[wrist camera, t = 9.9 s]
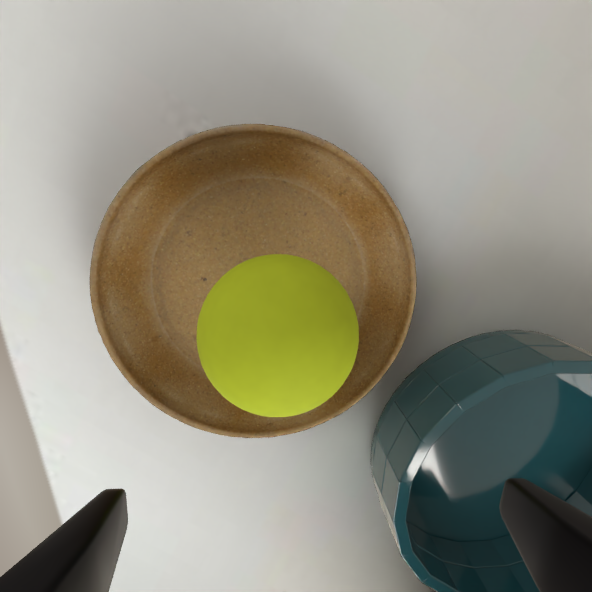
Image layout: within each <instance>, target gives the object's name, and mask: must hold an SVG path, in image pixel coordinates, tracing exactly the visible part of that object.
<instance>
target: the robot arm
mask: <svg viewBox="0 0 592 592" xmlns="http://www.w3.org/2000/svg"><path fill="white" fill-rule="evenodd" d="M499 509H500V514H501V516H502V519H503V521H504V523H505V525H506V527H507V529H508V531H509V533H510V535H511V537H512V539H513V541H514V543H515V545H516V547H517V549H518V551H519V553H520V555H521V557H522V559H523V561H524V563H525V565H526V567H527V569H528V570H529V572H530V574H531V576H532V578H533V580H534V582H535V584H536V586H537V588H538V589H539V591H540V592H592V517H591V516H589V515H588V514H586V513H584V512H582V511H581V510H579V509H577V508H575V507H574V506H572V505H570V504H568V503H567V502H565V501H563V500H561V499H560V498H558V497H556V496H554V495H553V494H551V493H549V492H547V491H546V490H544V489H542V488H540V487H539V486H537V485H535V484H533V483H532V482H530V481H528V480H526V479H523V478H511V479H507V480H506V482H505V484H504V488H503V492H502V496H501V500H500V505H499ZM127 524H128V514H127V501H126V493H125V490H123V489H106V490H104V491H102V492H101V493H100V494H98V495H97V496H96V497H95V498H94V499H93V500H91V501H90V502H89V503H88V504H87V505H85V506H84V507H83V508H82V509H81V510H80V511H78V512H77V513H76V514H75V515H74V516H72V517H71V518H70V519H69V520H68V521H66V522H65V523H64V524H63V525H62V526H61V527H59V528H58V529H57V530H56V531H55V532H53V533H52V534H51V535H50V536H49V537H48V538H46V539H45V540H44V541H43V542H42V543H40V544H39V545H38V546H37V547H36V548H35V549H33V550H32V551H31V552H30V553H29V554H27V556H25V557H24V558H23V559H21V560H20V561H19V562H18V563H17V564H16V565H14V566H13V567H12V568H11V569H10V570H8V571H7V572H6V573H5V574H4V575H2V576H1V577H0V592H109V588H110V585H111V581H112V578H113V575H114V571H115V568H116V564H117V561H118V557H119V554H120V551H121V547H122V544H123V540H124V537H125V533H126V530H127Z"/></svg>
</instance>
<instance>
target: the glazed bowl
mask: <svg viewBox="0 0 592 592" xmlns="http://www.w3.org/2000/svg"><path fill="white" fill-rule="evenodd" d="M371 471H372V477H373V481H374V485H375V488H376V491H377V494H378V498H379V502H380V504H381V507H382V509H383V512H384V514H385V517H386V520H387V522H388V525H389V527H390V530H391V532H392V535H393V537H394V540H395V542H396V545H397V547H398V550H399V552H400V555H401V557H402V558H403V559H404V561H405V562H406V563H407V564H408V566H409V567H410V568H411V570H412V571H413V572H414V573H415V575H416V576H417V577H418V579H419V580H420V581H421V582H422V583H423V584H425V585H427V586H428V587H430V588H432V589H434V590H435V591H437V592H540V591H539V589H538V588H537V586H536V584H535V582H534V580H533V578H532V576H531V574H530V572H529V570H528V569H527V567H526V565H525V563H524V561H523V559H522V557H521V555H520V553H519V551H518V549H517V547H516V545H515V543H514V541H513V539H512V537H511V535H510V533H509V531H508V529H507V527H506V525H505V523H504V521H503V519H502V516H501V514H500V509H499V505H500V500H501V496H502V492H503V488H504V484H505V482H506V480H507V479H511V478H523V479H526V480H528V481H530V482H532V483H533V484H535V485H537V486H539V487H540V488H542V489H544V490H546V491H547V492H549V493H551V494H553V495H554V496H556V497H558V498H560V499H561V500H563V501H565V502H567V503H568V504H570V505H572V506H574V507H575V508H577V509H579V510H581V511H582V512H584V513H586V514H588V515H589V516H591V517H592V353H590V352H588V351H586V350H584V349H582V348H580V347H577V346H575V345H572V344H569V343H567V342H564V341H562V340H560V339H557V338H555V337H552V336H550V335H547V334H543V333H538V332H534V331H524V330H506V331H496V332H490V333H484V334H480V335H477V336H474V337H471V338H467V339H465V340H462V341H460V342H458V343H455V344H453V345H451V346H449V347H447V348H445V349H444V350H442V351H440V352H438V353H437V354H435V355H433V356H432V357H431V358H429V359H428V360H427V361H425V362H424V363H422V364H421V365H420V366H419V367H418V368H417V369H415V370H414V371H413V372H412V373H411V374H410V375H409V376H408V377H407V378H406V379H405V380H404V381H403V383H402V384H401V385H400V386H399V387H398V388H397V390H396V391H395V392H394V394H393V395H392V397H391V398H390V400H389V401H388V403H387V404H386V406H385V408H384V410H383V412H382V414H381V416H380V418H379V421H378V424H377V427H376V429H375V432H374V437H373V442H372V447H371Z"/></svg>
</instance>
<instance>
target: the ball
mask: <svg viewBox="0 0 592 592" xmlns="http://www.w3.org/2000/svg"><path fill="white" fill-rule="evenodd" d="M358 344H359V326H358V320H357V316H356V312H355V309H354V306H353V303H352V301H351V299H350V298H349V296H348V294H347V292H346V290H345V289H344V288H343V286H342V285H341V284H340V282H339V281H338V280H337V279H336V278H335V277H334V276H333V275H332V274H331V273H330V272H328V271H327V270H325V269H324V268H322V267H321V266H320V265H318V264H316V263H314V262H312V261H310V260H307V259H304V258H301V257H298V256H293V255H287V254H271V255H264V256H259V257H255V258H252V259H249V260H246V261H244V262H242V263H240V264H238V265H237V266H235V267H234V268H232V269H231V270H229V271H228V272H227V273H226V274H224V275H223V276H222V277H221V278H220V279H219V280H218V282H217V283H216V284H215V285H214V286H213V287H212V289H211V290H210V292H209V293H208V295H207V297H206V299H205V301H204V303H203V306H202V308H201V311H200V314H199V318H198V323H197V349H198V354H199V358H200V361H201V365H202V367H203V369H204V371H205V373H206V375H207V377H208V379H209V380H210V382H211V383H212V385H213V386H214V387H215V388H216V390H217V391H218V392H219V393H220V394H221V395H222V396H223V397H224V398H225V399H227V400H228V401H229V402H231V403H232V404H234V405H235V406H237V407H239V408H241V409H242V410H245V411H247V412H250V413H253V414H256V415H260V416H266V417H289V416H294V415H299V414H302V413H305V412H308V411H310V410H312V409H314V408H316V407H318V406H320V405H321V404H323V403H324V402H326V401H327V400H328V399H329V398H331V397H332V396H333V395H334V394H335V393H336V392H337V391H338V390H339V388H340V387H341V386H342V385H343V383H344V382H345V380H346V379H347V377H348V375H349V373H350V372H351V370H352V367H353V365H354V362H355V359H356V355H357V350H358Z"/></svg>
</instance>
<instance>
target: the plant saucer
mask: <svg viewBox="0 0 592 592" xmlns="http://www.w3.org/2000/svg"><path fill="white" fill-rule="evenodd" d="M271 254H287V255H293V256H298V257H301V258H304V259H307V260H310V261H312V262H314V263H316V264H318V265H320V266H321V267H322V268H324V269H325V270H327V271H328V272H330V273H331V274H332V275H333V276H334V277H335V278H336V279H337V280H338V281H339V282H340V284H341V285H342V286H343V288H344V289H345V290H346V292H347V294H348V296H349V298H350V299H351V301H352V303H353V306H354V309H355V312H356V316H357V320H358V326H359V344H358V350H357V355H356V359H355V362H354V365H353V367H352V370H351V372H350V373H349V375H348V377H347V379H346V380H345V382H344V383H343V385H342V386H341V387H340V388H339V390H338V391H337V392H336V393H335V394H334V395H333V396H332V397H331V398H329V399H328V400H327V401H326V402H324V403H323V404H321V405H320V406H318V407H316V408H314V409H312V410H310V411H308V412H305V413H302V414H299V415H294V416H289V417H266V416H260V415H256V414H253V413H250V412H247V411H245V410H242V409H241V408H239V407H237V406H235V405H234V404H232V403H231V402H229V401H228V400H227V399H225V398H224V397H223V396H222V395H221V394H220V393H219V392H218V391H217V390H216V388H215V387H214V386H213V385H212V383H211V382H210V380H209V379H208V377H207V375H206V373H205V371H204V369H203V367H202V365H201V361H200V358H199V354H198V349H197V323H198V318H199V314H200V311H201V308H202V306H203V303H204V301H205V299H206V297H207V295H208V293H209V292H210V290H211V289H212V287H213V286H214V285H215V284H216V283H217V282H218V280H219V279H220V278H221V277H222V276H223V275H224V274H226V273H227V272H228V271H229V270H231V269H232V268H234V267H235V266H237V265H238V264H240V263H242V262H244V261H246V260H249V259H252V258H255V257H259V256H264V255H271ZM415 264H416V263H415V256H414V251H413V247H412V242H411V239H410V236H409V233H408V230H407V227H406V225H405V223H404V221H403V218H402V216H401V214H400V212H399V210H398V208H397V206H396V205H395V203H394V201H393V200H392V198H391V197H390V195H389V194H388V192H387V191H386V189H385V188H384V186H383V185H382V184H381V183H380V182H379V181H378V179H377V178H376V177H375V176H374V175H373V174H372V173H371V172H370V171H369V170H368V169H367V168H366V167H365V166H364V165H363V164H361V163H360V162H359V161H358V160H356V159H355V158H354V157H352V156H351V155H350V154H348V153H347V152H346V151H343V150H342V149H340V148H338V147H337V146H335V145H334V144H332V143H330V142H328V141H326V140H323V139H321V138H319V137H316V136H314V135H311V134H309V133H306V132H303V131H299V130H295V129H291V128H286V127H279V126H273V125H264V124H240V125H231V126H223V127H218V128H215V129H211V130H207V131H205V132H200V133H198V134H195V135H192V136H190V137H187V138H185V139H183V140H180V141H178V142H176V143H174V144H173V145H171V146H169V147H168V148H166V149H164V150H163V151H161V152H160V153H158V154H157V155H155V156H154V157H152V158H151V159H150V160H149V161H147V162H146V163H145V164H143V165H142V166H141V167H140V168H139V169H137V170H136V171H135V172H134V173H133V175H132V176H131V177H130V178H129V179H128V181H127V182H126V183H125V184H124V185H123V187H122V188H121V189H120V191H119V192H118V193H117V195H116V196H115V198H114V199H113V201H112V203H111V204H110V206H109V207H108V209H107V212H106V214H105V216H104V218H103V220H102V222H101V225H100V228H99V231H98V234H97V236H96V239H95V243H94V248H93V253H92V259H91V269H90V296H91V303H92V309H93V313H94V316H95V322H96V324H97V328H98V331H99V333H100V335H101V337H102V340H103V343H104V345H105V347H106V348H107V350H108V352H109V355H110V357H111V358H112V360H113V361H114V363H115V364H116V366H117V367H118V369H119V370H120V371H121V373H122V374H123V375H124V377H125V378H126V379H127V380H128V382H129V383H130V384H131V385H132V386H133V387H134V388H135V389H136V390H137V391H138V392H139V393H140V394H141V395H142V396H143V397H144V398H145V399H147V400H148V401H149V402H150V403H151V404H152V405H154V406H156V407H157V408H158V409H160V410H161V411H163V412H164V413H166V414H167V415H169V416H171V417H173V418H175V419H177V420H179V421H181V422H183V423H185V424H187V425H189V426H192V427H194V428H198V429H201V430H204V431H207V432H211V433H215V434H219V435H224V436H230V437H244V438H261V437H276V436H280V435H287V434H292V433H296V432H300V431H304V430H307V429H309V428H312V427H314V426H316V425H319V424H322V423H324V422H326V421H328V420H330V419H332V418H334V417H336V416H338V415H340V414H341V413H343V412H344V411H346V410H348V409H349V408H350V407H352V406H353V405H354V404H355V403H357V402H358V401H359V400H360V399H361V398H363V397H364V396H365V395H367V393H368V392H369V391H370V390H371V389H372V388H373V387H374V386H375V385H376V384H377V383H378V382H379V381H380V379H381V378H382V377H383V375H384V374H385V373H386V371H387V370H388V368H389V367H390V366H391V364H392V362H393V361H394V360H395V358H396V356H397V355H398V353H399V351H400V349H401V347H402V345H403V343H404V341H405V338H406V335H407V332H408V329H409V327H410V322H411V318H412V315H413V310H414V305H415V298H416V285H417V282H416V267H415Z"/></svg>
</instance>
